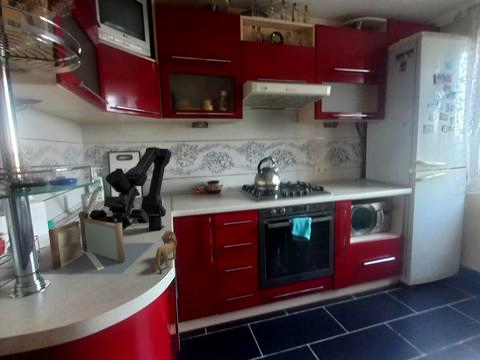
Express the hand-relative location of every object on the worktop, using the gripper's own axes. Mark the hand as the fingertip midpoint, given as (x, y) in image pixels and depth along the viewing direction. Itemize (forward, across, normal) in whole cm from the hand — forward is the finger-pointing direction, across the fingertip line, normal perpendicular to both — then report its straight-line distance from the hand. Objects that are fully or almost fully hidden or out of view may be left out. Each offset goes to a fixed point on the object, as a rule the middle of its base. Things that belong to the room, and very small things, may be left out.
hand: (111, 239), depth 81 cm
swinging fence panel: (+4, -3, +4) cm, 6 cm away
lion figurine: (+8, +20, +2) cm, 21 cm away
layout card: (+4, -4, +5) cm, 8 cm away
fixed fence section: (+5, -13, +4) cm, 14 cm away
